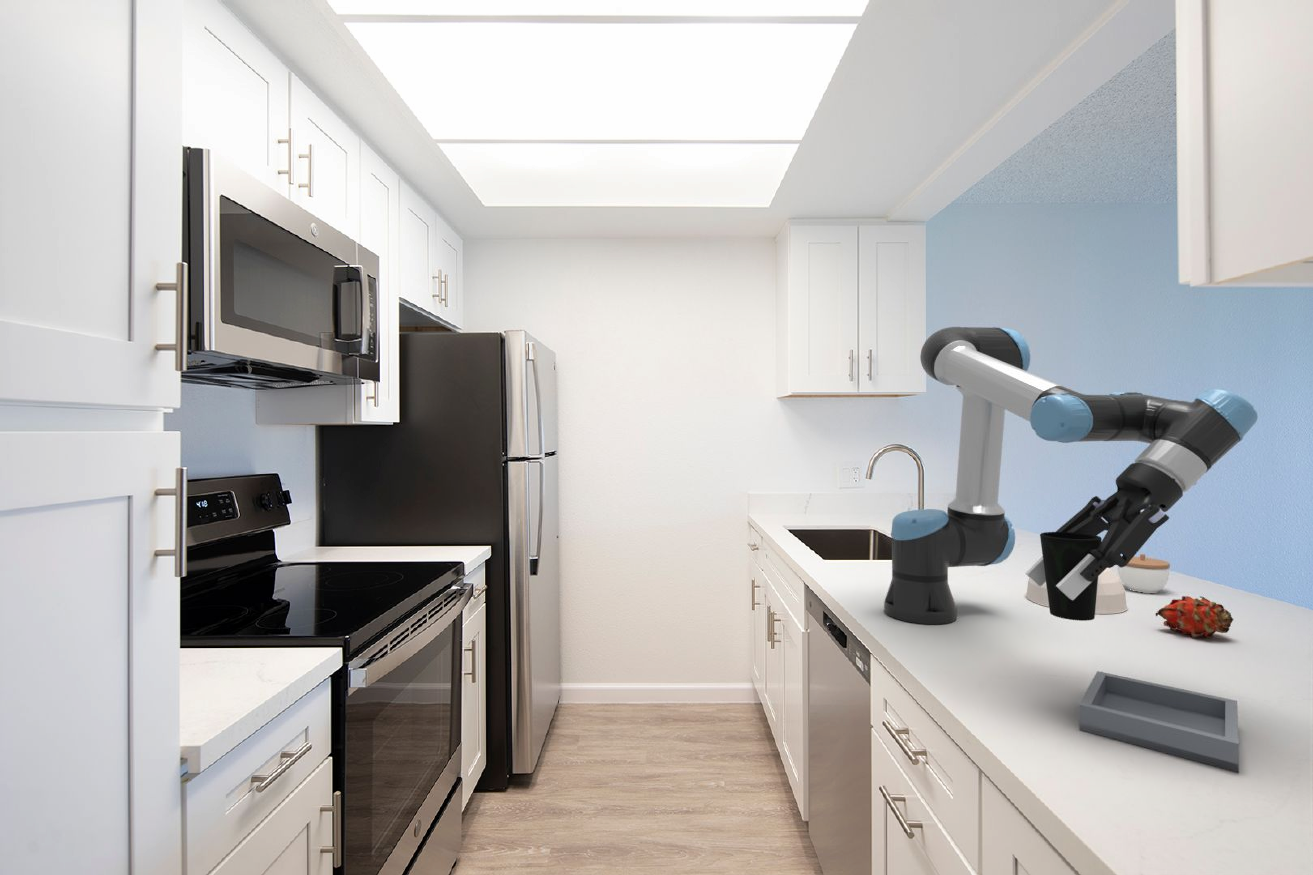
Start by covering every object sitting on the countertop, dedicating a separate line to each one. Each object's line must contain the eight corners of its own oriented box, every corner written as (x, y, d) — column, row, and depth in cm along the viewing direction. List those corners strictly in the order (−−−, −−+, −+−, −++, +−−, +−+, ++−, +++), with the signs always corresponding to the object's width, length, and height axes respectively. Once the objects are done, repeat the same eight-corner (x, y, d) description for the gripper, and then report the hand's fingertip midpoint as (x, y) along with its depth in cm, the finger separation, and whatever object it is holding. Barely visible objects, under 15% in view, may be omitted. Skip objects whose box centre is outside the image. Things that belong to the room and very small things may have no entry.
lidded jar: (1132, 595, 153) (1132, 558, 153) (1108, 584, 164) (1107, 549, 164) (1180, 596, 151) (1180, 559, 151) (1152, 586, 162) (1152, 550, 162)
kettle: (1101, 593, 155) (1101, 522, 155) (1146, 617, 135) (1146, 536, 135) (1013, 589, 160) (1013, 520, 160) (1044, 612, 140) (1044, 533, 140)
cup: (1113, 624, 87) (1112, 540, 87) (1054, 621, 89) (1052, 539, 89) (1088, 609, 95) (1086, 532, 95) (1033, 607, 96) (1032, 531, 96)
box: (1079, 729, 85) (1079, 704, 85) (1097, 693, 96) (1097, 671, 96) (1238, 772, 74) (1238, 743, 74) (1237, 725, 85) (1237, 700, 85)
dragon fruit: (1241, 650, 119) (1161, 648, 125) (1228, 615, 125) (1154, 615, 131) (1239, 621, 115) (1157, 620, 122) (1226, 587, 121) (1149, 587, 128)
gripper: (1238, 502, 81) (1112, 624, 82) (1128, 489, 101) (1029, 587, 102) (1194, 462, 81) (1070, 584, 82) (1094, 458, 101) (996, 555, 102)
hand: (1048, 586), depth 92 cm, fingers closed on cup, 8 cm apart
